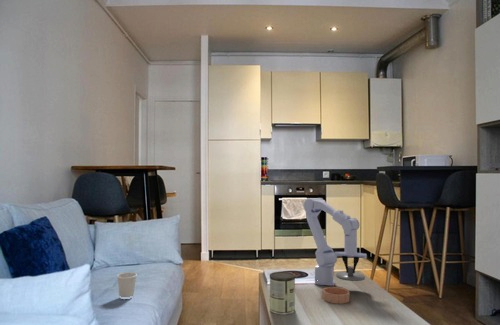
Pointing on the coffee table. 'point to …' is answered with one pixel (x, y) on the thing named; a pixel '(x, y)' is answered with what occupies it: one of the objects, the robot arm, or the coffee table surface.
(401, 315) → the coffee table surface
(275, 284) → the coffee can
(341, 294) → the bowl
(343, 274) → the lid
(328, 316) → the coffee table surface
